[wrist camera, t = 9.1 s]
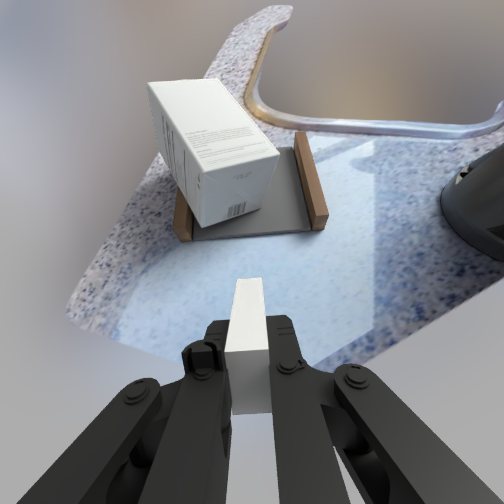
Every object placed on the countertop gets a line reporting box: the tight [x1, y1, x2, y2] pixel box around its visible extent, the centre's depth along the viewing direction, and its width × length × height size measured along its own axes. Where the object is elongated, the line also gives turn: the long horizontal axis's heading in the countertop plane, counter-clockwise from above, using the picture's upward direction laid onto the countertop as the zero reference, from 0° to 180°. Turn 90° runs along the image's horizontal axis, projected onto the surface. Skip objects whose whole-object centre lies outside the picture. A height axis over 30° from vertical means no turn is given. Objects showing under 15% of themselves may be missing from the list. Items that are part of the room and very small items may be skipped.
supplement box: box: [146, 78, 280, 228], centre depth 29 cm, size 9×9×15 cm
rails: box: [173, 131, 329, 242], centre depth 33 cm, size 18×16×3 cm
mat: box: [193, 147, 311, 241], centre depth 34 cm, size 15×16×1 cm
